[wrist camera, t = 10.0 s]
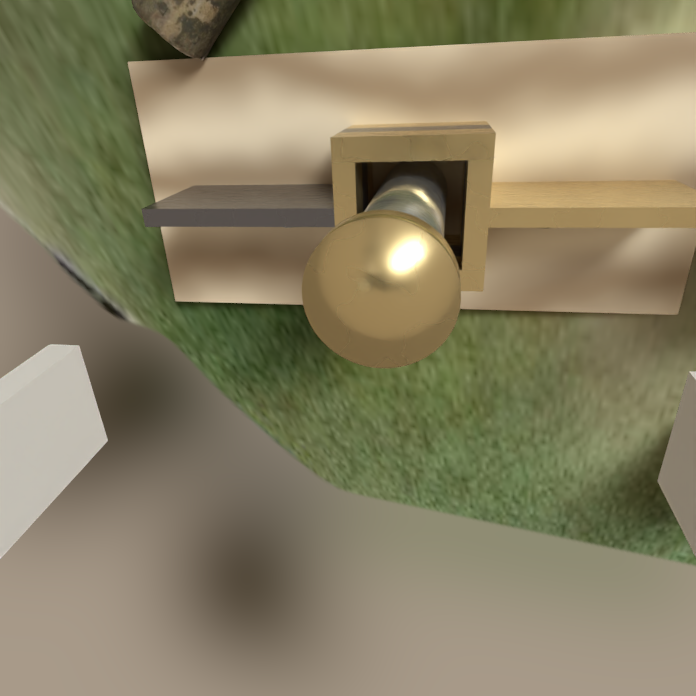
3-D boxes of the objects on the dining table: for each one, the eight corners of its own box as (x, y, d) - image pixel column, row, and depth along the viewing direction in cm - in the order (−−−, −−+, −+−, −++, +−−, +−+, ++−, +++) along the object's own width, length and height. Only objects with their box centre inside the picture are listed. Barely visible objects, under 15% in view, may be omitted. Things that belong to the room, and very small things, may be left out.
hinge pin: (372, 146, 33) (295, 218, 17) (460, 144, 32) (466, 218, 16) (373, 232, 36) (307, 364, 20) (456, 233, 35) (456, 372, 19)
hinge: (184, 129, 35) (127, 142, 28) (690, 115, 30) (753, 126, 24) (204, 250, 38) (157, 284, 32) (658, 254, 33) (705, 296, 27)
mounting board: (137, 62, 34) (127, 61, 33) (741, 30, 29) (752, 29, 28) (182, 295, 42) (175, 301, 41) (671, 307, 36) (678, 314, 35)
